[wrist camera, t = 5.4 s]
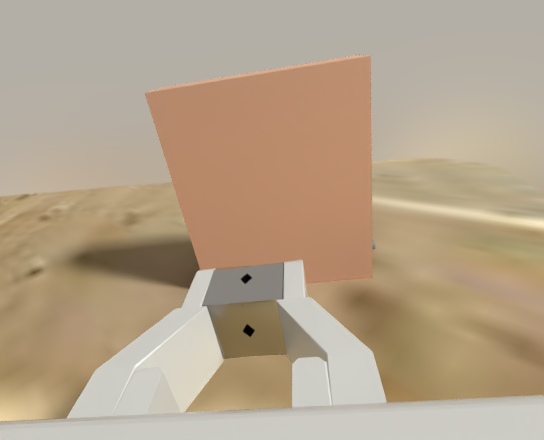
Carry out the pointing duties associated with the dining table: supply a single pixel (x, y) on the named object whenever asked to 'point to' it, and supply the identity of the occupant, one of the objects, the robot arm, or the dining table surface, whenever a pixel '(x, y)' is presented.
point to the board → (275, 166)
